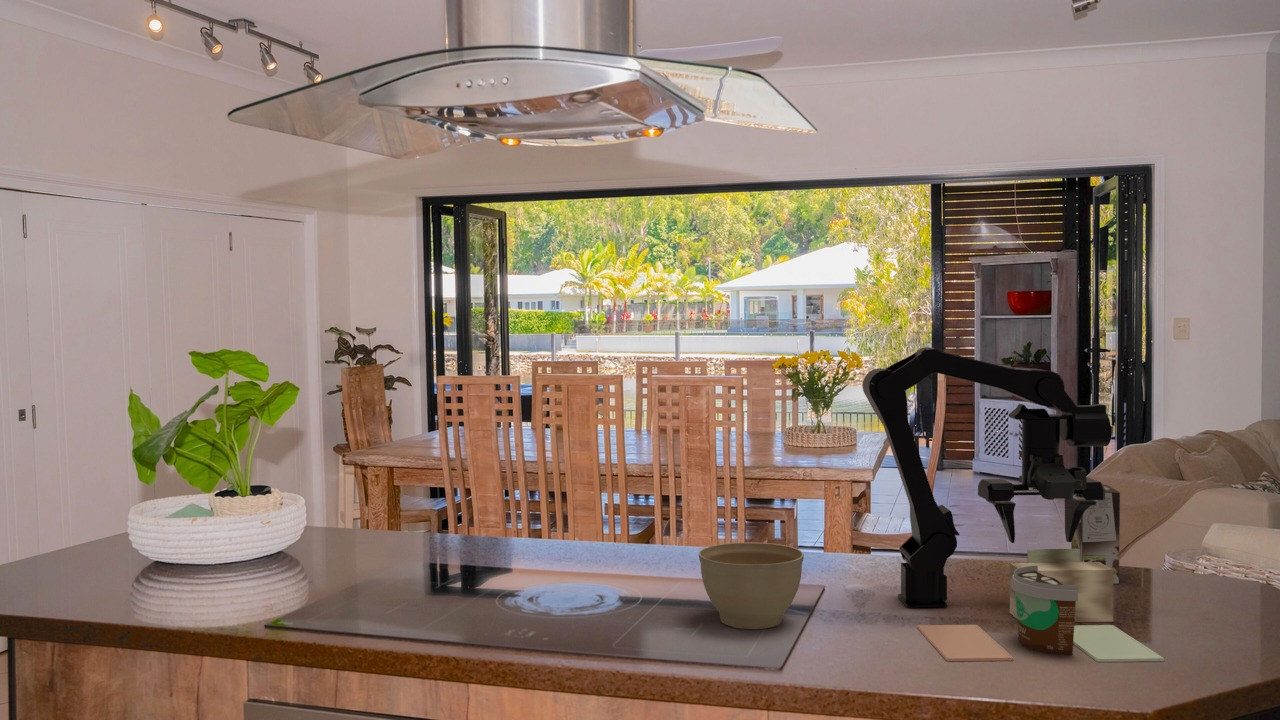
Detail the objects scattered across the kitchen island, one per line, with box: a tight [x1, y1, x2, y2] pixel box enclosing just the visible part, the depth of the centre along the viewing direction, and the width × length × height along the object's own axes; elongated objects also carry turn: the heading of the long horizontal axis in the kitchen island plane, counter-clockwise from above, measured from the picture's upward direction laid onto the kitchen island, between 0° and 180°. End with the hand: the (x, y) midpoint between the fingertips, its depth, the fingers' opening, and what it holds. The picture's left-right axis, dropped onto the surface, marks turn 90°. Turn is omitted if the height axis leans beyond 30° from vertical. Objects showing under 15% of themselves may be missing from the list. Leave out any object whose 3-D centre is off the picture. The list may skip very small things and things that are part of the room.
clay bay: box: [916, 624, 1014, 662], centre depth 146 cm, size 9×15×1 cm, turn 0°
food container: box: [1009, 566, 1078, 656], centre depth 144 cm, size 12×6×10 cm, turn 5°
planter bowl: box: [698, 542, 805, 630], centre depth 157 cm, size 16×16×11 cm
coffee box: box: [1070, 484, 1121, 585], centre depth 181 cm, size 9×6×16 cm
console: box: [1009, 548, 1114, 623], centre depth 158 cm, size 14×6×10 cm, turn 90°
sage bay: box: [1073, 624, 1165, 663], centre depth 145 cm, size 9×15×1 cm, turn 0°
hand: (1040, 542), depth 165 cm, fingers open, 9 cm apart
